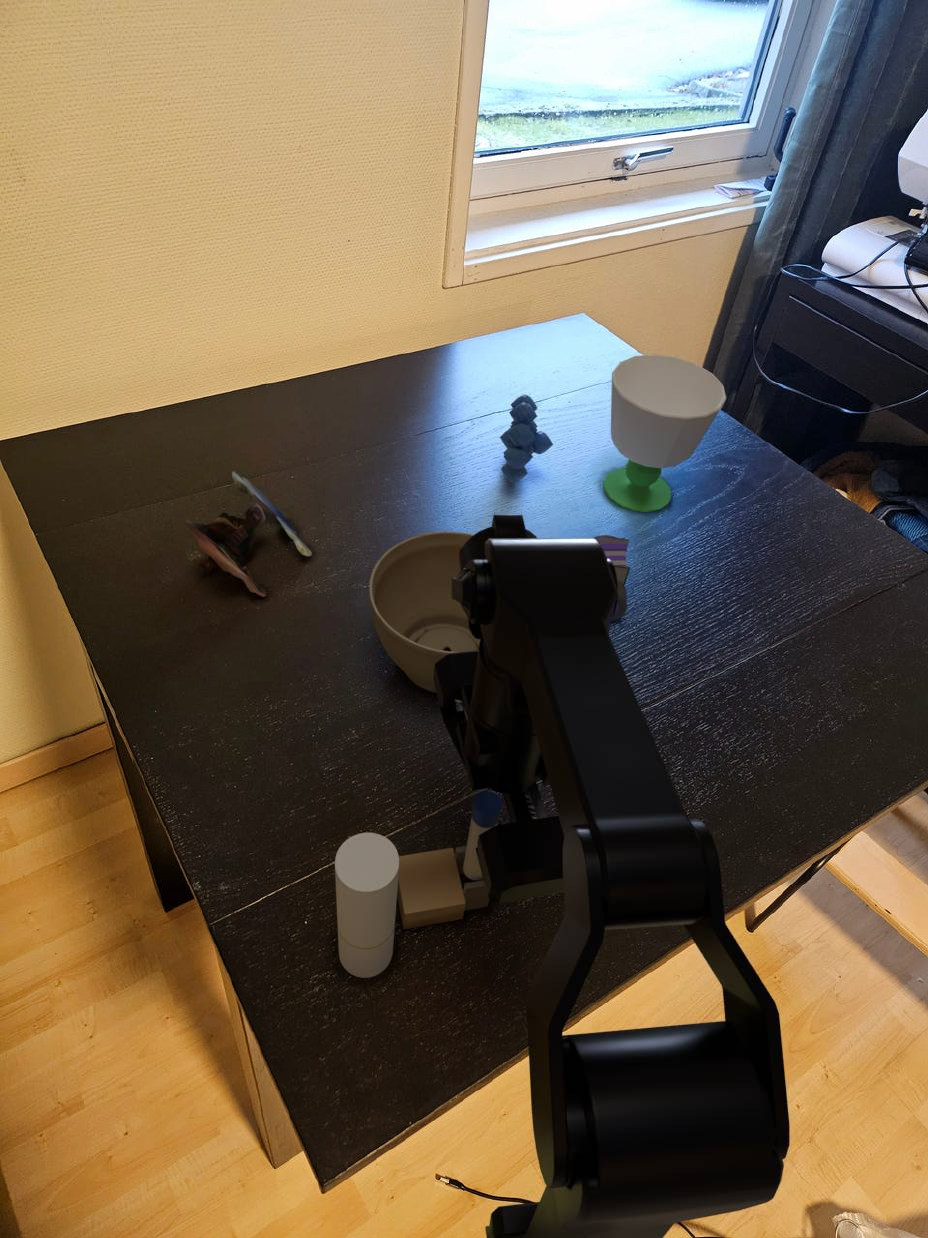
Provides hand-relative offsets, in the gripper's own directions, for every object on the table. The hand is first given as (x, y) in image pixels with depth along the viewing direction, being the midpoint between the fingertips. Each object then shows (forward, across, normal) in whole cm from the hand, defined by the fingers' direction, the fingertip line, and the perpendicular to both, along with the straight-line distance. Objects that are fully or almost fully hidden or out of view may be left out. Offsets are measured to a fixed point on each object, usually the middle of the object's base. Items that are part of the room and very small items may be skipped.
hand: (489, 824), depth 65 cm
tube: (+11, -4, +10) cm, 15 cm away
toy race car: (+11, +34, -18) cm, 40 cm away
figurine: (+11, +43, +15) cm, 47 cm away
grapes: (+11, +54, -19) cm, 58 cm away
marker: (+2, 0, -1) cm, 2 cm away
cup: (+11, +50, -34) cm, 61 cm away
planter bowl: (+11, +25, -3) cm, 27 cm away
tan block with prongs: (+11, 0, +3) cm, 11 cm away
